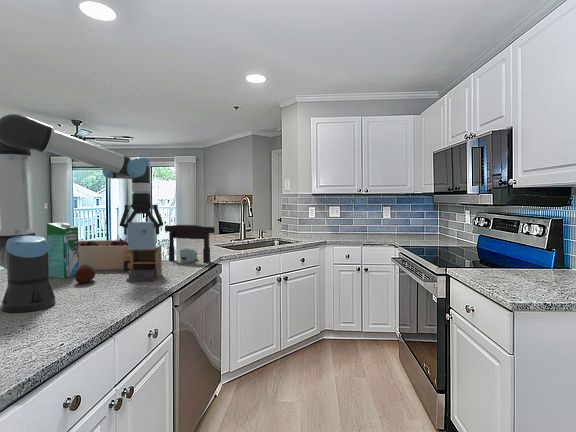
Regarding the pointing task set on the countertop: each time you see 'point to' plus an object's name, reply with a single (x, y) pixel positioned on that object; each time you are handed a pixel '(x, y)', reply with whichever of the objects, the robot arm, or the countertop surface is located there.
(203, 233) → the stool
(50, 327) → the countertop surface
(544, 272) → the countertop surface
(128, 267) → the ammunition clip
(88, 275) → the potato
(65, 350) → the countertop surface
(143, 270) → the cabinet
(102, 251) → the planter tray
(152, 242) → the block
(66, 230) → the milk carton
